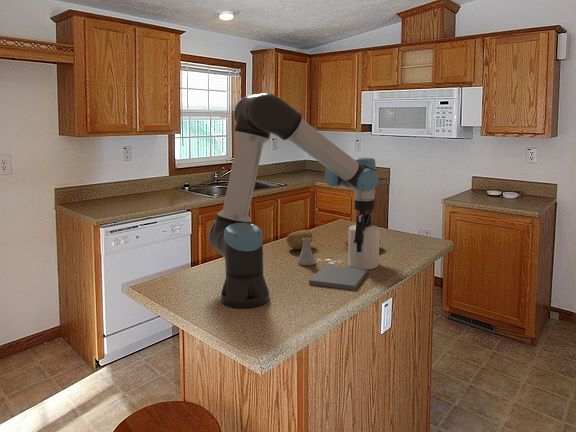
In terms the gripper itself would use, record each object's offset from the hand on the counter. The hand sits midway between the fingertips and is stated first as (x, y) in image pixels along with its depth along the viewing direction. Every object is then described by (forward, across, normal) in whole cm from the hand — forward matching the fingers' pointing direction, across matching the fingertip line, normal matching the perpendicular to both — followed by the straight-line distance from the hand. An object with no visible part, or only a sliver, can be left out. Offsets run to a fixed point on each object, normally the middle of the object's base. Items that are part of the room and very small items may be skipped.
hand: (363, 255), depth 185 cm
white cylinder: (+4, 0, 0) cm, 4 cm away
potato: (+4, +13, +31) cm, 34 cm away
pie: (+4, +22, +6) cm, 23 cm away
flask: (+4, -6, +21) cm, 22 cm away
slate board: (+4, -19, +4) cm, 20 cm away
